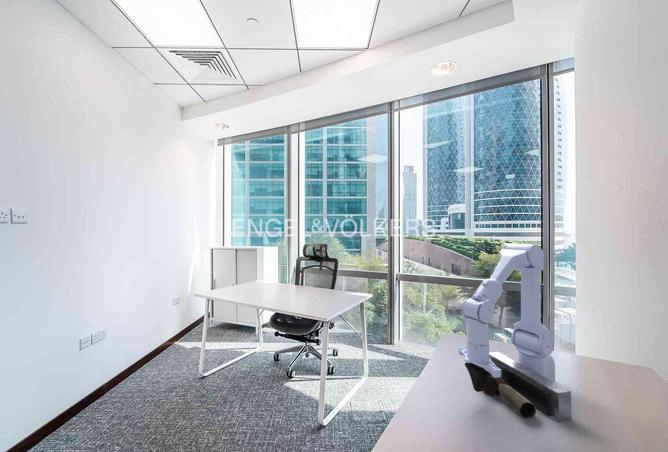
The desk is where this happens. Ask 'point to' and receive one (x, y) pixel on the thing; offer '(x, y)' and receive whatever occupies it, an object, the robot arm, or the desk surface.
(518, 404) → the corroded crusty cylinder
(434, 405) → the desk surface
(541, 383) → the grey metal tray
